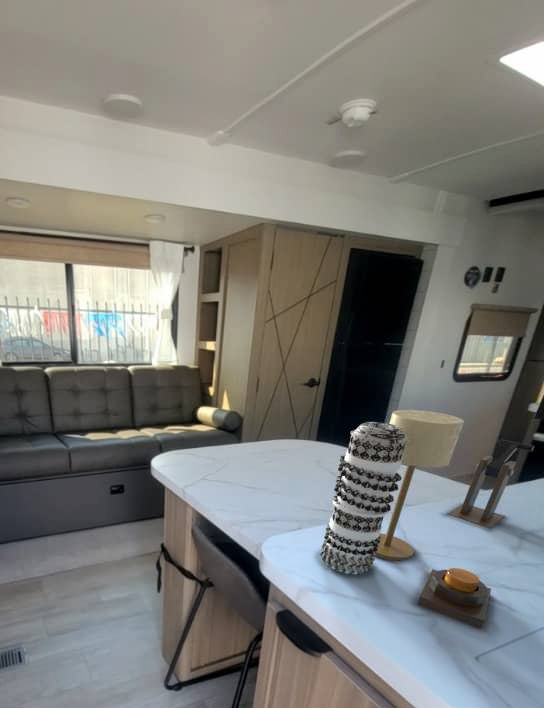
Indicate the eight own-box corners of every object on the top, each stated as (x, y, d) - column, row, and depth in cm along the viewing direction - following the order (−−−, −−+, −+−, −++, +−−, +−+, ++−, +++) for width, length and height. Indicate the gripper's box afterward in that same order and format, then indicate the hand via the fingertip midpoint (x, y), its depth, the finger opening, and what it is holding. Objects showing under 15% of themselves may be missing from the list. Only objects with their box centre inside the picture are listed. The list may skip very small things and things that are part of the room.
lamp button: (446, 574, 64) (449, 564, 63) (476, 584, 61) (481, 574, 61) (441, 585, 61) (445, 575, 60) (473, 596, 59) (478, 586, 58)
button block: (428, 579, 68) (435, 559, 67) (486, 600, 64) (495, 579, 62) (415, 607, 62) (423, 586, 60) (478, 633, 57) (489, 610, 55)
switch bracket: (462, 507, 96) (484, 451, 90) (502, 520, 90) (529, 461, 84) (445, 518, 90) (467, 459, 84) (487, 532, 84) (514, 470, 78)
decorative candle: (307, 552, 75) (336, 418, 64) (355, 551, 76) (391, 418, 65) (330, 581, 67) (368, 433, 56) (383, 580, 68) (430, 433, 57)
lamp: (407, 543, 80) (451, 412, 68) (421, 570, 71) (474, 426, 60) (352, 534, 82) (387, 407, 71) (359, 560, 73) (399, 420, 62)
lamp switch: (499, 445, 91) (501, 436, 90) (532, 452, 87) (535, 442, 86) (474, 472, 87) (476, 463, 86) (507, 481, 83) (510, 471, 81)
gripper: (576, 268, 68) (518, 410, 78) (581, 259, 59) (515, 421, 69) (641, 266, 64) (570, 416, 74) (657, 256, 55) (574, 429, 65)
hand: (543, 418), depth 72 cm, fingers closed
